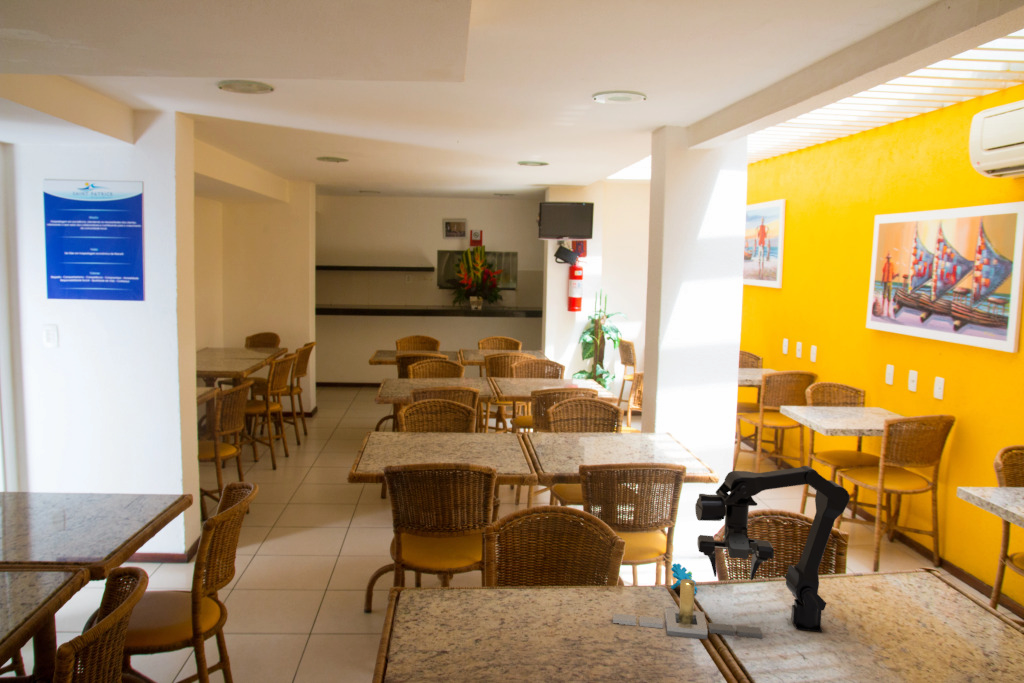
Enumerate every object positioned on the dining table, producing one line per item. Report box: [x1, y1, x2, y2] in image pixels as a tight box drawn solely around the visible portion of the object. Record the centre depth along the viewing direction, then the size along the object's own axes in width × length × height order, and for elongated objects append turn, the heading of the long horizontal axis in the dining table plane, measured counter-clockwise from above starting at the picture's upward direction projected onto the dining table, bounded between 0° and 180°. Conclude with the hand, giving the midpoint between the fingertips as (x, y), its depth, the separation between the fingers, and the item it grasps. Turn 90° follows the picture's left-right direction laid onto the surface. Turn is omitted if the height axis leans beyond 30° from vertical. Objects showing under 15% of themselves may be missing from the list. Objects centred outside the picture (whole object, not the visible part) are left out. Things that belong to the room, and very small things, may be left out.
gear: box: [670, 562, 698, 596], centre depth 207 cm, size 11×6×10 cm
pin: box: [678, 579, 696, 625], centre depth 184 cm, size 4×4×12 cm
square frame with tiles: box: [612, 608, 763, 640], centre depth 184 cm, size 38×10×2 cm, turn 80°
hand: (733, 577), depth 185 cm, fingers open, 9 cm apart
